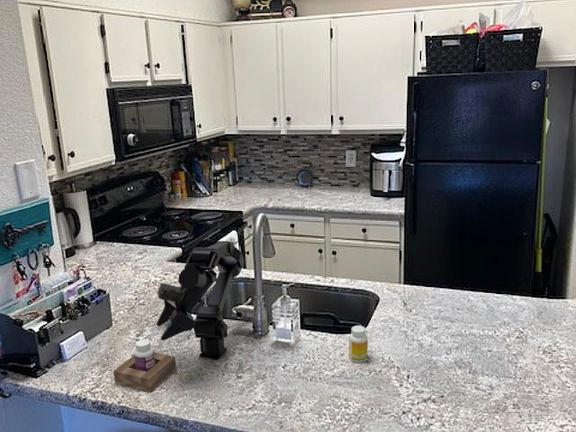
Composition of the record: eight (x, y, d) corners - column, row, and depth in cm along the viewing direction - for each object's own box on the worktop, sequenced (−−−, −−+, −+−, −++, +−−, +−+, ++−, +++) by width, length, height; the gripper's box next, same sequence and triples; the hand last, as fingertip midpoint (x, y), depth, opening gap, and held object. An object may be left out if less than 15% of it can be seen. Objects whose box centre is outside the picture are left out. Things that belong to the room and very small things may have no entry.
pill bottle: (151, 379, 145) (147, 348, 142) (133, 377, 146) (129, 346, 143) (159, 368, 150) (155, 338, 147) (142, 367, 151) (138, 337, 148)
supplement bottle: (345, 356, 155) (345, 327, 152) (360, 351, 157) (360, 322, 154) (355, 364, 150) (355, 334, 147) (371, 360, 152) (371, 330, 150)
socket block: (176, 369, 151) (174, 356, 150) (150, 392, 141) (149, 379, 140) (142, 361, 156) (140, 349, 155) (115, 383, 145) (113, 370, 144)
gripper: (168, 263, 153) (133, 304, 152) (178, 285, 136) (139, 332, 135) (197, 283, 158) (163, 324, 157) (210, 308, 141) (173, 353, 140)
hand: (159, 332), depth 147 cm, fingers open, 9 cm apart
